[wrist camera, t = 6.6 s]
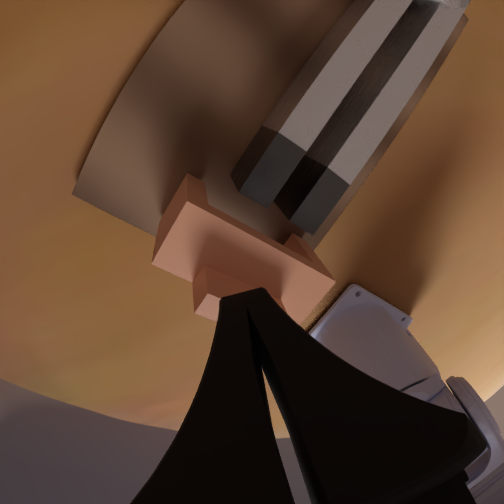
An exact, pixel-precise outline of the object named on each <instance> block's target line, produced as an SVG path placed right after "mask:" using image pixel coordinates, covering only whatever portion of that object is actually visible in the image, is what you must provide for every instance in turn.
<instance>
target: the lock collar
mask: <svg viewBox="0 0 504 504" xmlns="http://www.w3.org/2000/svg"><path fill="white" fill-rule="evenodd" d="M151 264H152V265H155V266H157V267H159V268H161V269H163V270H165V271H168V272H170V273H172V274H174V275H176V276H179V277H181V278H183V279H185V280H188V281H190V282H192V283H193V299H194V313H196V314H198V315H201V316H203V317H206V318H208V319H211V320H213V321H216V322H217V320H218V313H219V301H220V299H221V298H222V297H225V296H229V295H233V294H237V293H240V292H244V291H248V290H252V289H256V288H260V287H263V288H265V289H266V290H267V291H268V293H269V294H270V295H271V297H272V298H273V299H274V300H275V301H276V302H277V304H278V305H279V306H280V307H281V308H282V309H283V310H284V311H285V312H286V313H287V314H288V315H289V316H290V317H291V318H292V319H293V320H294V321H295V322H296V323H297V324H298V325H300V324H301V323H302V322H303V321H304V319H305V318H306V317H307V316H308V315H309V314H310V312H311V311H312V310H313V309H314V308H315V307H316V305H317V304H318V303H319V302H320V301H321V300H322V298H323V297H324V296H325V295H326V294H327V292H328V291H329V290H330V289H331V288H332V286H333V285H334V284H335V283H336V281H335V279H334V278H333V277H332V275H331V274H330V273H329V271H328V270H327V269H326V267H325V266H324V265H323V263H322V262H321V261H320V259H319V258H318V257H317V255H316V254H315V253H314V251H313V250H312V249H311V247H310V246H309V245H308V243H307V242H306V241H305V240H303V239H302V238H300V237H298V236H297V235H295V234H293V233H292V234H291V236H290V237H289V238H288V240H287V241H286V243H285V244H284V245H282V244H280V243H278V242H276V241H274V240H273V239H271V238H269V237H267V236H265V235H264V234H262V233H260V232H258V231H256V230H254V229H253V228H251V227H249V226H247V225H245V224H244V223H242V222H240V221H238V220H236V219H234V218H233V217H231V216H229V215H227V214H225V213H223V212H222V211H220V210H218V209H216V208H214V207H212V206H211V205H209V204H208V199H207V193H206V188H205V183H204V182H203V181H201V180H199V179H197V178H196V177H194V176H192V175H190V174H188V173H187V174H186V176H185V178H184V179H183V181H182V183H181V184H180V186H179V188H178V190H177V191H176V193H175V195H174V196H173V198H172V200H171V202H170V203H169V205H168V207H167V209H166V211H165V212H164V214H163V216H162V218H161V220H160V221H159V226H158V231H157V236H156V241H155V246H154V252H153V258H152V263H151Z"/></svg>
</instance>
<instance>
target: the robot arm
mask: <svg viewBox="0 0 504 504" xmlns="http://www.w3.org/2000/svg"><path fill="white" fill-rule="evenodd" d="M358 291H359V292H358ZM357 292H358V293H357ZM356 293H357V294H356ZM411 322H412V318H411V316H409V315H408V314H406V313H404V312H403V311H401V310H399V309H398V308H396V307H394V306H393V305H391V304H389V303H388V302H386V301H384V300H383V299H381V298H379V297H378V296H376V295H374V294H372V293H371V292H369V291H367V290H366V289H364V288H362V287H361V286H359V285H357V284H351V285H349V286H348V288H347V289H346V290H345V291H344V292H343V294H342V295H341V296H340V297H339V298H338V299H337V301H336V302H335V303H334V304H333V305H332V306H331V308H330V309H329V310H328V311H327V312H326V313H325V315H324V316H323V317H322V318H321V319H320V320H319V321H318V323H317V324H316V325H315V326H314V327H313V328H312V329H311V330H310V331H309V333H307V332H306V331H305V330H304V329H303V328H302V327H301V326H300V325H298V324H297V323H296V322H295V321H294V320H293V319H292V318H291V317H290V316H289V315H288V314H287V313H286V312H285V311H284V310H283V309H282V308H281V307H280V306H279V305H278V304H277V302H276V301H275V300H274V299H273V298H272V297H271V295H270V294H269V293H268V291H267V290H266V289H265V288H263V287H260V288H256V289H252V290H248V291H244V292H240V293H237V294H233V295H229V296H225V297H222V298H221V299H220V301H219V313H218V320H217V325H216V330H215V334H214V339H213V343H212V347H211V351H210V354H209V357H208V361H207V364H206V367H205V370H204V373H203V376H202V379H201V382H200V384H199V387H198V390H197V392H196V395H195V397H194V399H193V402H192V404H191V406H190V409H189V411H188V413H187V415H186V417H185V419H184V421H183V423H182V425H181V427H180V429H179V431H178V433H177V435H176V437H175V439H174V440H173V442H172V444H171V445H170V447H169V449H168V450H167V452H166V453H165V455H164V457H163V459H162V460H161V461H160V463H159V465H158V466H157V468H156V469H155V471H154V472H153V474H152V475H151V477H150V478H149V480H148V481H147V482H146V484H145V485H144V486H143V488H142V489H141V490H140V491H139V493H138V494H137V495H136V497H135V498H134V499H133V500H132V502H131V503H130V504H295V502H294V499H293V496H292V493H291V490H290V487H289V483H288V480H287V477H286V473H285V470H284V467H283V463H282V460H281V457H280V453H279V450H278V446H277V443H276V440H275V436H274V431H273V427H272V422H271V416H270V411H269V405H268V400H267V394H266V388H265V383H264V377H263V372H262V369H263V371H264V374H265V376H266V379H267V381H268V383H269V386H270V388H271V391H272V393H273V395H274V398H275V400H276V403H277V405H278V407H279V410H280V412H281V414H282V417H283V419H284V422H285V424H286V427H287V429H288V432H289V435H290V438H291V441H292V444H293V447H294V450H295V454H296V457H297V460H298V463H299V466H300V469H301V472H302V476H303V479H304V482H305V485H306V488H307V491H308V494H309V498H310V501H311V504H504V440H503V438H502V437H501V435H500V433H501V432H500V429H499V427H498V425H497V423H496V421H495V419H494V417H493V416H492V414H491V413H490V411H489V409H488V408H487V406H486V405H485V403H484V402H483V401H482V399H481V398H480V397H479V395H478V394H477V393H476V391H475V390H474V389H473V388H472V386H471V385H470V384H469V383H468V382H467V381H466V380H465V379H464V378H463V377H454V376H451V377H449V378H448V379H447V380H446V383H447V384H448V386H449V388H450V389H451V391H452V393H453V394H452V393H451V391H450V390H449V389H448V387H447V386H446V385H445V383H444V382H443V380H442V379H441V376H440V372H439V370H438V368H437V366H436V365H435V364H434V362H433V361H432V360H431V358H430V357H429V356H428V354H427V353H426V352H425V351H424V349H423V348H422V347H421V345H420V344H419V343H418V342H417V340H416V339H415V338H414V337H413V335H412V334H411V333H410V331H409V330H408V329H407V327H408V326H409V325H410V324H411ZM454 396H455V397H454ZM456 399H457V400H456Z"/></svg>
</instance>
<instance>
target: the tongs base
mask: <svg viewBox="0 0 504 504" xmlns="http://www.w3.org/2000/svg"><path fill="white" fill-rule="evenodd" d="M469 2H470V0H413V1H412V2H411V3H410V5H409V6H408V8H407V9H408V10H407V11H406V12H405V14H404V15H403V16H402V18H401V19H400V20H399V22H398V23H397V24H396V26H395V27H394V28H393V30H392V31H391V32H390V34H389V35H388V36H387V38H386V39H385V41H384V42H383V43H382V45H381V46H380V47H379V49H378V50H377V51H376V53H375V54H374V56H373V57H372V58H371V60H370V61H369V63H368V64H367V65H366V67H365V68H364V70H363V71H362V73H361V74H360V75H359V77H358V78H357V80H356V81H355V83H354V84H353V85H352V87H351V88H350V90H349V91H348V93H347V94H346V95H345V97H344V98H343V100H342V101H341V103H340V104H339V105H338V107H337V108H336V110H335V111H334V113H333V114H332V116H331V117H330V118H329V120H328V121H327V123H326V124H325V126H324V127H323V129H322V130H321V131H320V133H319V134H318V136H317V137H316V139H315V140H314V142H313V143H312V145H311V146H310V147H309V149H308V150H307V152H306V153H305V155H304V156H303V158H302V159H301V161H300V162H299V163H298V165H297V166H296V168H295V169H294V171H293V172H292V174H291V175H290V177H289V178H288V180H287V181H286V183H285V184H284V185H283V187H282V188H281V190H280V191H279V193H278V194H277V196H276V197H275V199H274V200H273V201H274V202H275V204H276V205H277V206H278V207H279V209H280V210H281V211H282V212H283V214H284V215H285V216H286V218H287V219H288V220H289V221H290V222H292V223H293V224H295V225H296V226H298V227H300V228H301V229H303V230H305V231H306V232H308V233H309V234H311V235H314V234H315V232H316V231H317V230H318V228H319V227H320V226H321V224H322V223H323V222H324V220H325V219H326V218H327V216H328V215H329V214H330V212H331V211H332V209H333V208H334V207H335V205H336V204H337V203H338V201H339V200H340V198H341V197H342V196H343V194H344V193H345V192H346V190H347V189H348V187H349V186H350V185H351V183H352V182H353V180H354V179H355V178H356V176H357V175H358V173H359V172H360V170H361V169H362V168H363V166H364V165H365V163H366V162H367V161H368V159H369V158H370V156H371V155H372V153H373V152H374V151H375V149H376V148H377V146H378V145H379V143H380V142H381V140H382V139H383V137H384V136H385V135H386V133H387V132H388V130H389V129H390V127H391V126H392V124H393V123H394V121H395V120H396V118H397V117H398V115H399V114H400V112H401V111H402V109H403V108H404V106H405V105H406V103H407V102H408V100H409V99H410V97H411V96H412V94H413V93H414V91H415V90H416V88H417V87H418V85H419V84H420V82H421V81H422V79H423V77H424V76H425V74H426V73H427V71H428V70H429V68H430V66H431V65H432V63H433V62H434V60H435V59H436V57H437V55H438V54H439V52H440V51H441V49H442V47H443V46H444V44H445V43H446V41H447V39H448V38H449V36H450V34H451V33H452V31H453V29H454V28H455V26H456V24H457V23H458V21H459V19H460V18H461V16H462V14H463V13H464V11H465V9H466V8H467V7H466V6H467V5H468V4H469Z"/></svg>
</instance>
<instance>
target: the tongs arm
mask: <svg viewBox="0 0 504 504" xmlns="http://www.w3.org/2000/svg"><path fill="white" fill-rule="evenodd" d="M412 1H413V0H355V1H354V2H353V3H352V4H351V5H350V7H349V8H348V9H347V10H346V12H345V13H344V14H343V15H342V17H341V18H340V19H339V20H338V22H337V23H336V24H335V25H334V27H333V28H332V29H331V31H330V32H329V33H328V34H327V36H326V37H325V38H324V40H323V41H322V42H321V44H320V45H319V46H318V48H317V49H316V50H315V52H314V53H313V54H312V56H311V57H310V58H309V60H308V61H307V62H306V64H305V65H304V66H303V68H302V69H301V71H300V72H299V73H298V75H297V76H296V77H295V79H294V80H293V82H292V83H291V84H290V86H289V87H288V89H287V90H286V91H285V93H284V94H283V96H282V97H281V99H280V100H279V101H278V103H277V104H276V106H275V107H274V109H273V110H272V111H271V113H270V114H269V116H268V117H267V119H266V120H265V122H264V123H263V125H262V126H261V128H260V129H259V131H258V132H257V134H256V135H255V137H254V138H253V140H252V141H251V143H250V144H249V146H248V147H247V149H246V150H245V152H244V153H243V155H242V156H241V158H240V159H239V161H238V163H237V164H236V166H235V167H234V169H233V170H232V172H231V173H230V177H231V179H232V181H233V183H234V184H235V186H236V188H237V190H238V192H239V193H241V194H243V195H244V196H246V197H248V198H250V199H251V200H253V201H255V202H257V203H258V204H260V205H262V206H264V207H265V208H267V209H268V208H269V206H270V205H271V203H272V202H273V200H274V199H275V197H276V196H277V194H278V193H279V191H280V190H281V188H282V187H283V185H284V184H285V183H286V181H287V180H288V178H289V177H290V175H291V174H292V172H293V171H294V169H295V168H296V166H297V165H298V163H299V162H300V161H301V159H302V158H303V156H304V155H305V153H306V152H307V150H308V149H309V147H310V146H311V145H312V143H313V142H314V140H315V139H316V137H317V136H318V134H319V133H320V131H321V130H322V129H323V127H324V126H325V124H326V123H327V121H328V120H329V118H330V117H331V116H332V114H333V113H334V111H335V110H336V108H337V107H338V105H339V104H340V103H341V101H342V100H343V98H344V97H345V95H346V94H347V93H348V91H349V90H350V88H351V87H352V85H353V84H354V83H355V81H356V80H357V78H358V77H359V75H360V74H361V73H362V71H363V70H364V68H365V67H366V65H367V64H368V63H369V61H370V60H371V58H372V57H373V55H374V54H375V53H376V51H377V50H378V48H379V47H380V46H381V44H382V43H383V41H384V40H385V38H386V37H387V36H388V34H389V33H390V31H391V30H392V29H393V27H394V26H395V24H396V23H397V22H398V20H399V19H400V17H401V16H402V15H403V13H404V12H405V10H406V9H407V8H408V6H409V5H410V3H411V2H412Z"/></svg>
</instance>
